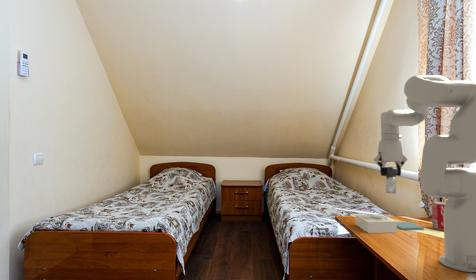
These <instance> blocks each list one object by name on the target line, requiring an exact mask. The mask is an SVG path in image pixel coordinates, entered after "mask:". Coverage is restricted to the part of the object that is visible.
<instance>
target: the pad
mask: <svg viewBox="0 0 476 280" xmlns="http://www.w3.org/2000/svg"><path fill="white" fill-rule="evenodd" d="M397 229H399V230H401V231H424V229H425V227H424V226H421V225H418V224H416V223H414V222H412V221H397Z"/></svg>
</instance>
